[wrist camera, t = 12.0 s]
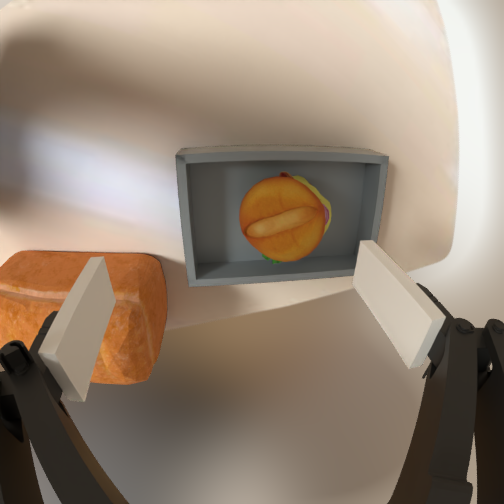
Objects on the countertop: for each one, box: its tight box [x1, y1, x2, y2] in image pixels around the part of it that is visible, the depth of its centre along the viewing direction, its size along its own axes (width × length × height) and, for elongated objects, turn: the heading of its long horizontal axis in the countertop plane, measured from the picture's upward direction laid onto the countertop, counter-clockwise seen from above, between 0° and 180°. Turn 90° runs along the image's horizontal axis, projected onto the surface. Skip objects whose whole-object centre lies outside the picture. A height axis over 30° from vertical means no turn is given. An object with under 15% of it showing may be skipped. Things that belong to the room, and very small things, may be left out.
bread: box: [0, 251, 167, 385], centre depth 33 cm, size 14×26×16 cm, turn 85°
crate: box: [175, 145, 389, 287], centre depth 36 cm, size 24×16×5 cm, turn 90°
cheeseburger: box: [239, 172, 332, 264], centre depth 34 cm, size 10×11×10 cm
